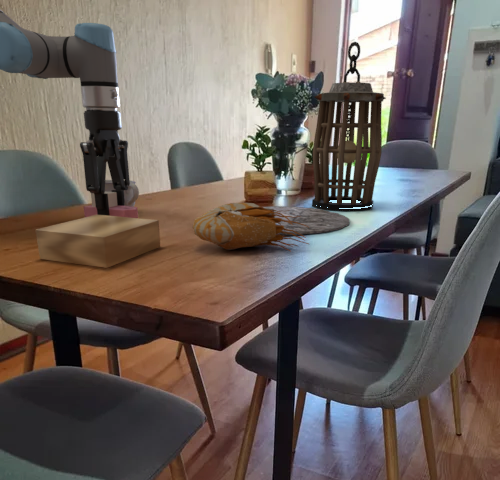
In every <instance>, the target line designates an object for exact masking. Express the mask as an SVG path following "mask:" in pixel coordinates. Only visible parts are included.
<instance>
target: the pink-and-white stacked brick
mask: <svg viewBox="0 0 500 480" xmlns="http://www.w3.org/2000/svg"><path fill="white" fill-rule="evenodd" d="M105 194H108V203H109V214H110V216H118V217H129V218H139V211H138V207H137V206H134V207H131V206H119V205H117V193H116V192H107V191H105ZM90 198H91V204H89V205H84V206H83V213H84V218H85V217H89V216H93V215H98V214H97V209H96V205H95V195H94V193H90Z"/></svg>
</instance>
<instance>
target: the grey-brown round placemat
mask: <svg viewBox="0 0 500 480" xmlns="http://www.w3.org/2000/svg"><path fill="white" fill-rule="evenodd" d="M264 207H265V208H271V209H274V210H276V211H274V212H277V211H280V212H278V213H281V214H283V215H284V216H292V217H287V218H288V219H289V220H290V221H293V222H297V223H301V224H304V225H306V226H304V225H301V224H297V223H292V222H291V223H292V224H293V225H291V224H290V223H288V222H283V221H282V222H278V223H280V224H281V225H282V226H284V228H285V229H289V230H293V231H295V232H297V233H299V234H301V235H303V236H305V235H313V234H314V235H315V234H323V233H329V232H333V231H338V230H340V229H343V228H345V227H347V226H349V225H350V222H351V221H350V219H349V218H348V217H347V216H345V215H343V214H341V213H338V212H335V211H329V210H322V209H317V208H315V207H313V208H312V207H301V206H285V205H284V206H283V205H282V206H281V205H280V206H278V205H277V206H275V205H273V206H264ZM287 210H289V211H287ZM276 214H277V213H276ZM281 214H277V215H280V216H282V215H281ZM280 216H275V218H282V220H285V221H289V220H288V219H286V218H285V217H280ZM297 216H301V217H297ZM293 217H295V218H293ZM278 223H276V225H279V226H281V225H280V224H278ZM307 226H308V227H309V228H308V227H307ZM282 231H283V232H288V233H292V234H294V235H296V236H301V235H299V234H297V233H295V232H293V231H286V230H282ZM278 234H280V235H282V236H287V237H292V236H294V235H292V234H286V233H281V232H280V233H278ZM278 234H276V235H278Z"/></svg>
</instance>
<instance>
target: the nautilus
mask: <svg viewBox="0 0 500 480" xmlns="http://www.w3.org/2000/svg"><path fill="white" fill-rule="evenodd" d="M265 207H266V206H260V205H258V204H256V203H253V202H230V203H226V204H223V205H220V206H218V207H215V208H212V209H210V210H208V211H206V212H205V213H202V214H201V215H200V216H197V217H196V218H195V219H193V224H192V229H193V232H194V233H193V234H194V235H195V236H196V237H198V238H199V239H201V240H202V241H204V242H205V241H206V242H209V243H212V244H215V245H216V246H218V247H220V248H223V249H224V250H227V251H232V250H236V249H237V250H238V249H240V248H249V247H253V248H254V247H259V246H273V247H275V246H276V247H280V248H282V249H284V250H286V251H289V252H291V250H290V249H289V248H287V247H286V246H289V247H292V248H294V246H295V247H298V244H294V243H286V242H284V241H283V240H292V241H295V242H299V243H302V244H306V245H308V246H309V245H310V244H311V243H308V242H305V241H306V240H305V239H307V237H306V236H305V235H301V234H299V233H297V232H295V231H293V230H289V229H285V228H284V226H282V225H281V224H280V223H278V222H282V221H283V222H288V223H290V224H291V225H293V224H292V223H297V222H293V221H290V220H289V219H288V218H287V217H292V216H284V215H283V214H281V213H278V212H280V211H277V212H274V211H276V210H274V209H271V208H265ZM287 211H289V210H287ZM276 213H277V214H281V215H282V216H280V215H277V214H276ZM275 216H280V217H285V218H286V219H288V220H289V221H285V220H282V218H275ZM297 217H301V216H297ZM293 218H295V217H293ZM291 222H292V223H291ZM276 223H278V224H280V225H281V226H279V225H276ZM297 224H301V223H297ZM301 225H304V224H301ZM304 226H306V225H304ZM307 227H308V226H307ZM308 228H309V227H308ZM282 230H286V231H293V232H295V233H297V234H299V235H294V234H292V233H288V232H283V231H282ZM280 232H281V233H286V234H292V235H291V236H289V237H288V236H282V235H280V234H278V233H280ZM276 234H278V235H276ZM292 236H294V237H295V238H292ZM302 237H303V238H302ZM296 238H298V239H296ZM299 239H300V240H299ZM302 240H303V241H302ZM278 243H280V244H282V245H280V244H278ZM284 245H285V246H284Z"/></svg>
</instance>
